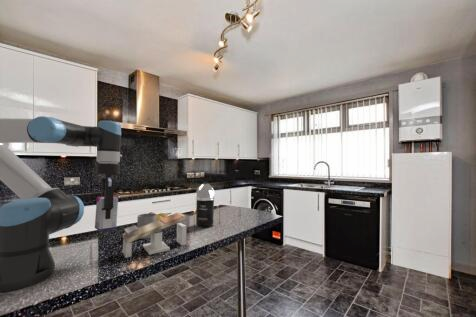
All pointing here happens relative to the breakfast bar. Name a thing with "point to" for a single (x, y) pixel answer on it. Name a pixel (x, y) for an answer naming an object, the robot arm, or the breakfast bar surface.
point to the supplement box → (100, 214)
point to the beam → (151, 227)
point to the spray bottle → (205, 205)
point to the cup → (145, 221)
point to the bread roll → (160, 216)
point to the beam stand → (157, 242)
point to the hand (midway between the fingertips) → (105, 225)
